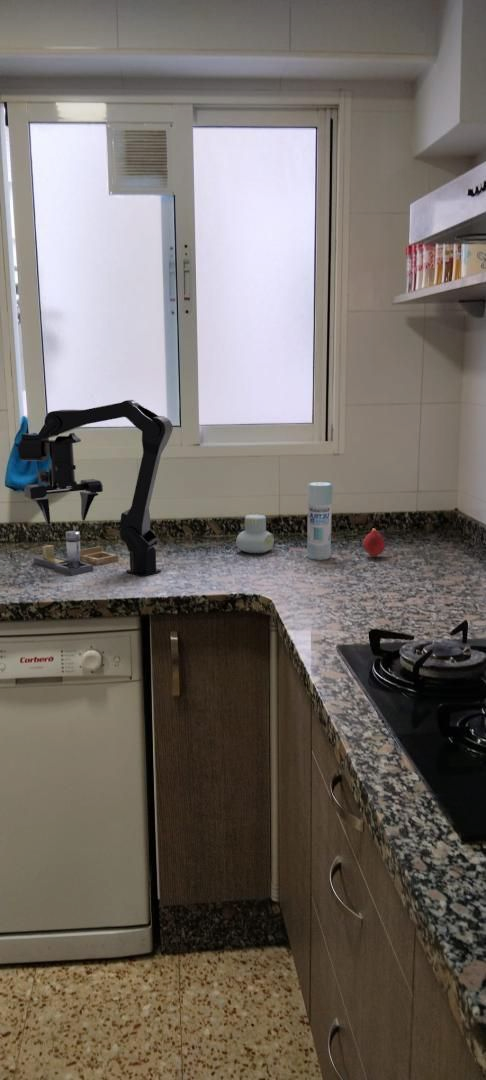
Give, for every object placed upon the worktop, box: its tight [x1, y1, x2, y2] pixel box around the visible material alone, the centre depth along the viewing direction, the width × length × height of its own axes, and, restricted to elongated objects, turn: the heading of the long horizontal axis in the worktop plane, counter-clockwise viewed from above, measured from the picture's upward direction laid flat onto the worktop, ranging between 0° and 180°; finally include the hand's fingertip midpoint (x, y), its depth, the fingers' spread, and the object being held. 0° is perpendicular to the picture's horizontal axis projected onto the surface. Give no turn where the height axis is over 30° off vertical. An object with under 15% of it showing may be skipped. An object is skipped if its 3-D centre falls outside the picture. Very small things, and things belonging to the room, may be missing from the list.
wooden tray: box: [80, 545, 119, 566], centre depth 232 cm, size 8×7×3 cm
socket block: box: [33, 555, 94, 576], centre depth 226 cm, size 18×7×2 cm, turn 46°
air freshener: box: [235, 514, 275, 555], centre depth 243 cm, size 11×8×10 cm
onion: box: [362, 528, 386, 558], centre depth 236 cm, size 6×6×8 cm
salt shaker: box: [65, 530, 82, 568], centre depth 221 cm, size 4×4×10 cm
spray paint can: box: [306, 481, 333, 561], centre depth 235 cm, size 6×6×20 cm
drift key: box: [42, 544, 66, 564], centre depth 227 cm, size 7×2×4 cm, turn 46°
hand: (66, 522), depth 222 cm, fingers open, 9 cm apart
